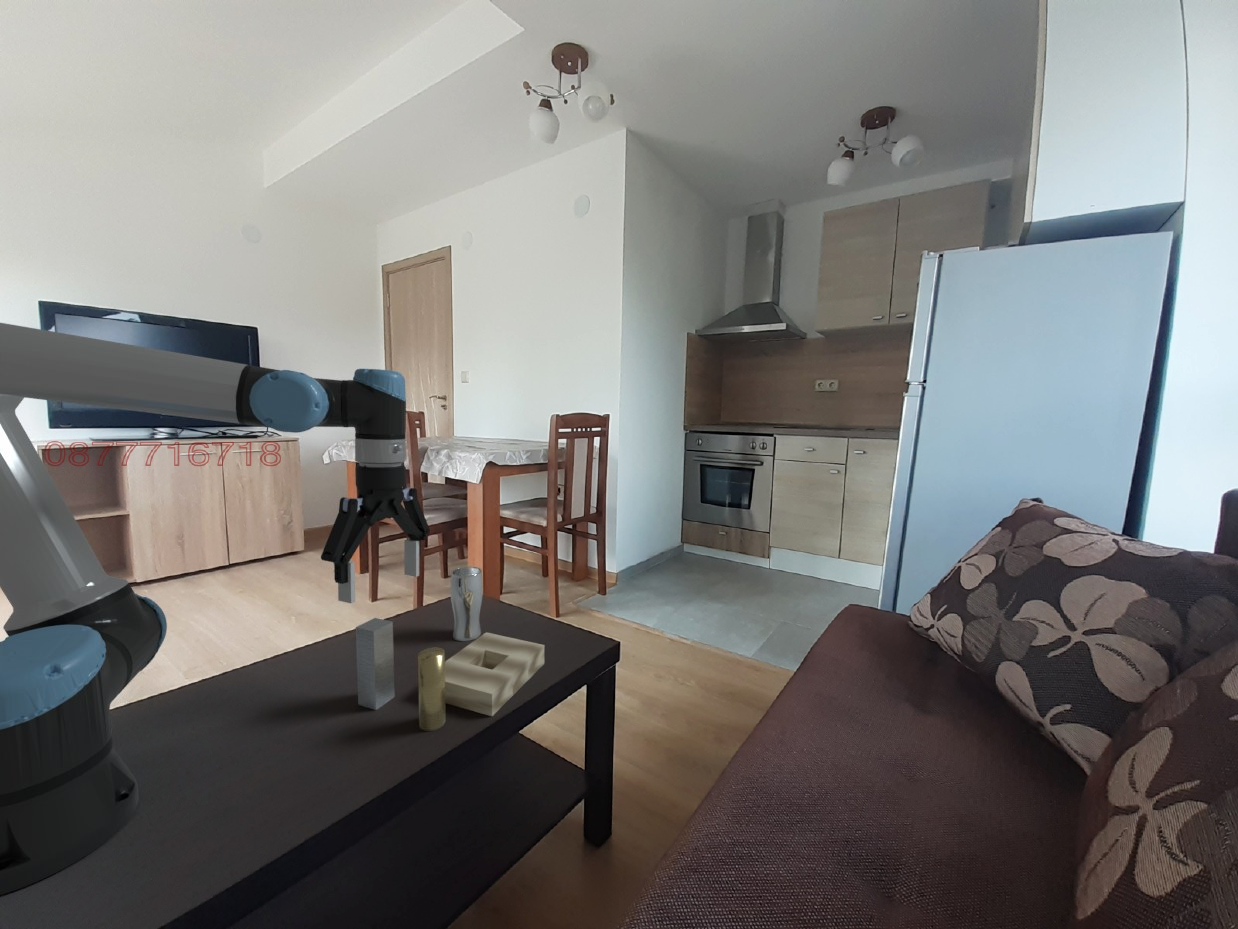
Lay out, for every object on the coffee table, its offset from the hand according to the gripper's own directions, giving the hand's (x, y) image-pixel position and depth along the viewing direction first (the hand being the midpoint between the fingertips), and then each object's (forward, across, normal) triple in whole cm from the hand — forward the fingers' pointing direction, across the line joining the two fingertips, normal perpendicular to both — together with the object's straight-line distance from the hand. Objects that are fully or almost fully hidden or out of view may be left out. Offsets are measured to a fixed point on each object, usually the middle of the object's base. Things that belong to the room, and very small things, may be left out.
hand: (381, 587), depth 80 cm
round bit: (+20, -2, -12) cm, 24 cm away
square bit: (+20, -1, +1) cm, 21 cm away
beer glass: (+20, +25, +2) cm, 33 cm away
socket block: (+20, +12, -13) cm, 27 cm away
